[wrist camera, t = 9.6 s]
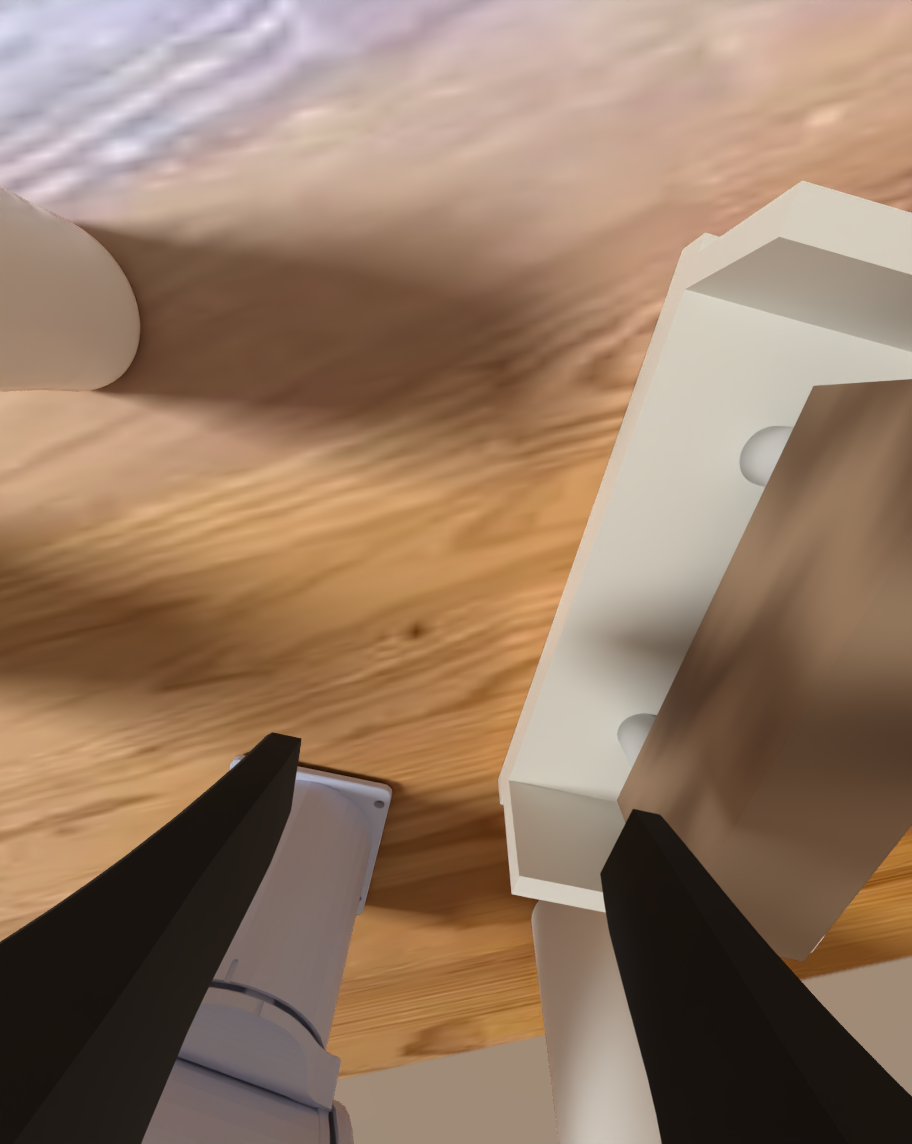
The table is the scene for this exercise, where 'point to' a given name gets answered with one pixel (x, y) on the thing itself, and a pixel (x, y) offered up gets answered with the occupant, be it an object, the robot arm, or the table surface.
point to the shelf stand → (691, 500)
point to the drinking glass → (60, 304)
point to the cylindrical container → (589, 1032)
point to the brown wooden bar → (801, 679)
